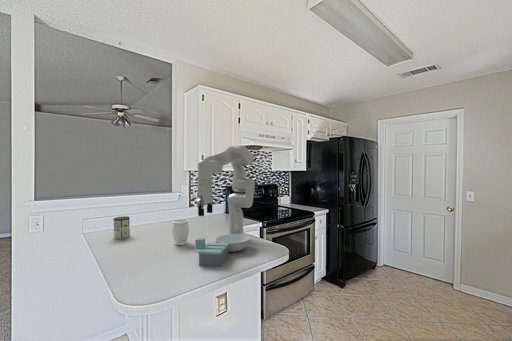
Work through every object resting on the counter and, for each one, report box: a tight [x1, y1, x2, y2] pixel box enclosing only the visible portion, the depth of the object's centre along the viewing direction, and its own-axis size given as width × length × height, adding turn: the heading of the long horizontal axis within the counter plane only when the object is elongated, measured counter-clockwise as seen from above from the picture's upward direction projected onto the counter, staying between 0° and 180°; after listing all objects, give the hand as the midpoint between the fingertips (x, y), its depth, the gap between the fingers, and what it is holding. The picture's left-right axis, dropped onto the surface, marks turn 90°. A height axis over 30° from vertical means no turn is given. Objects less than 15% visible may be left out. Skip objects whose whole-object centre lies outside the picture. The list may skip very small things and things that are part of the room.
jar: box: [171, 219, 190, 246], centre depth 160 cm, size 11×10×15 cm
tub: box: [198, 247, 229, 267], centre depth 130 cm, size 15×11×6 cm
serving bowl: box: [214, 233, 251, 253], centre depth 147 cm, size 21×21×7 cm
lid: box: [194, 237, 229, 255], centre depth 130 cm, size 16×16×7 cm
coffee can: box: [113, 215, 131, 240], centre depth 179 cm, size 10×10×14 cm
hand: (205, 214), depth 134 cm, fingers open, 9 cm apart
